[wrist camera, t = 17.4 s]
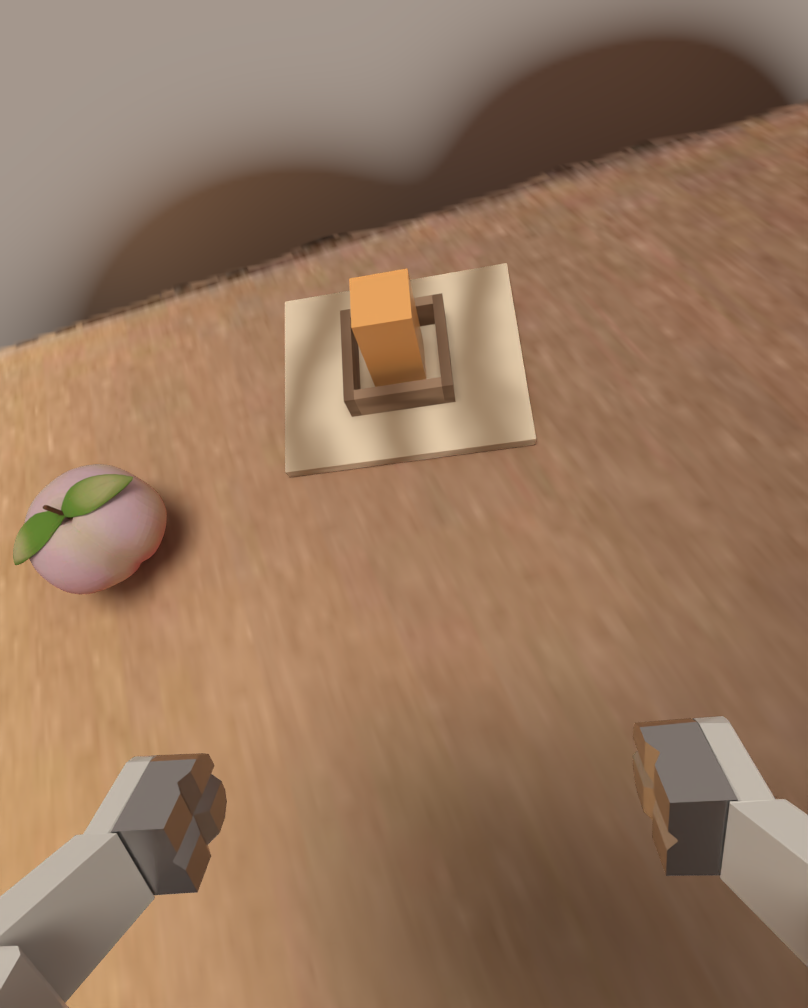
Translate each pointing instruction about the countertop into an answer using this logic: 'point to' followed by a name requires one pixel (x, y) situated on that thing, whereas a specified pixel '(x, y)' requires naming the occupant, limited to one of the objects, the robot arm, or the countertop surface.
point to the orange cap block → (387, 327)
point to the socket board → (410, 405)
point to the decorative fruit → (91, 528)
